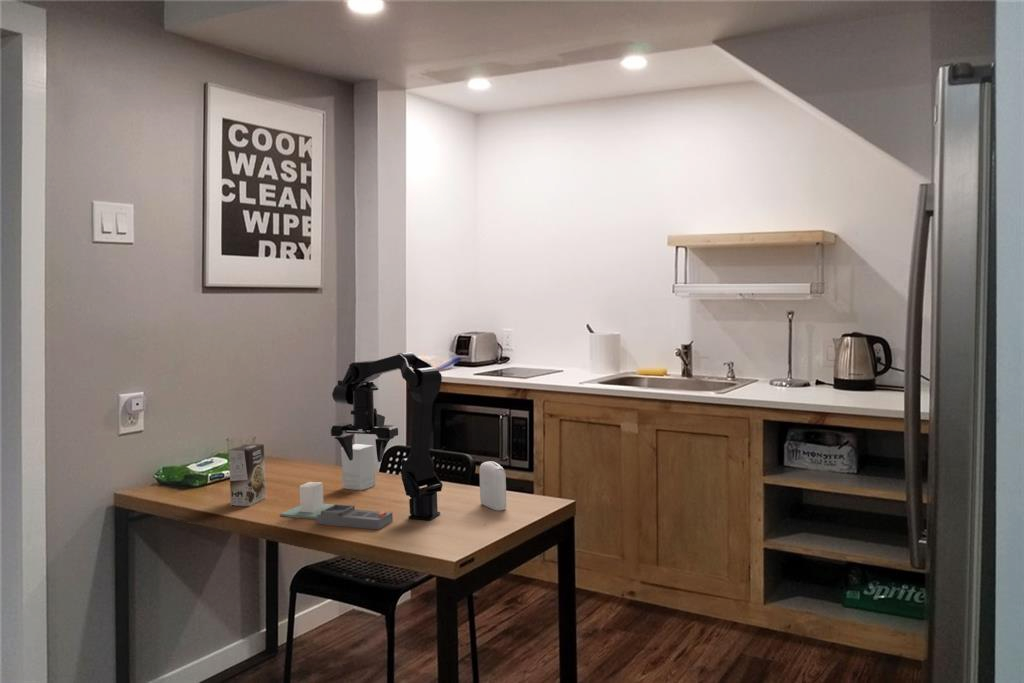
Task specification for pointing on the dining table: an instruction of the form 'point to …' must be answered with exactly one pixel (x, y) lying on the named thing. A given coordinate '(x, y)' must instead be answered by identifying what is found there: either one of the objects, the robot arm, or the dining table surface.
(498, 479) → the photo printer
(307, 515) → the rubber mat
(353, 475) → the supplement box
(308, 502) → the charger
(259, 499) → the coffee box
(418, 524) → the dining table surface
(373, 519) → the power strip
